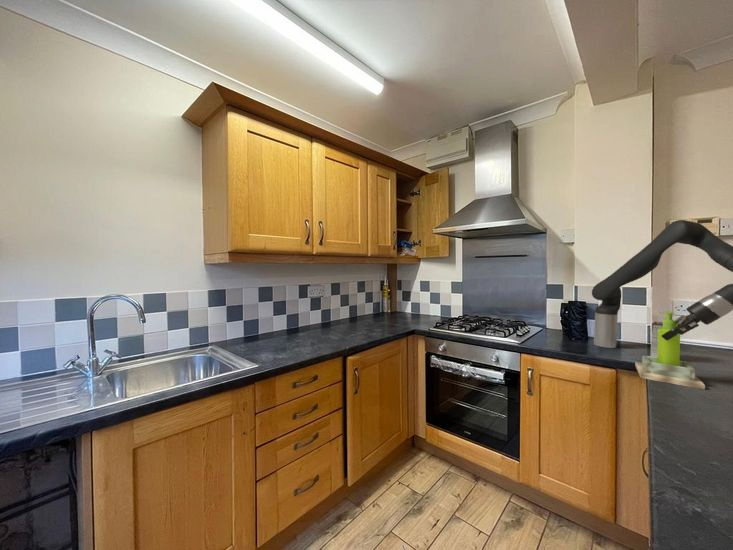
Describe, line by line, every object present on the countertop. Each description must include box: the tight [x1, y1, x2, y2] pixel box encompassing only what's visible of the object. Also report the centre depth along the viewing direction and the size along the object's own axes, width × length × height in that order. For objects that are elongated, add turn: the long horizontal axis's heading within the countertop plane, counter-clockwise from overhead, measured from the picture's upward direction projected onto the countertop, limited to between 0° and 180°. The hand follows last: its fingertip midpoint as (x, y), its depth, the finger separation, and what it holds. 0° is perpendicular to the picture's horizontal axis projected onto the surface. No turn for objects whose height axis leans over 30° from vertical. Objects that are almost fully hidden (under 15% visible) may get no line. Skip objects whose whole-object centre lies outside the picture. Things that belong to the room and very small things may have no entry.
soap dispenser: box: [657, 310, 681, 366], centre depth 112 cm, size 6×7×20 cm
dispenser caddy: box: [634, 355, 706, 390], centre depth 112 cm, size 16×18×6 cm
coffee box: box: [650, 321, 663, 357], centre depth 136 cm, size 9×6×16 cm
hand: (662, 336), depth 112 cm, fingers closed on soap dispenser, 6 cm apart
